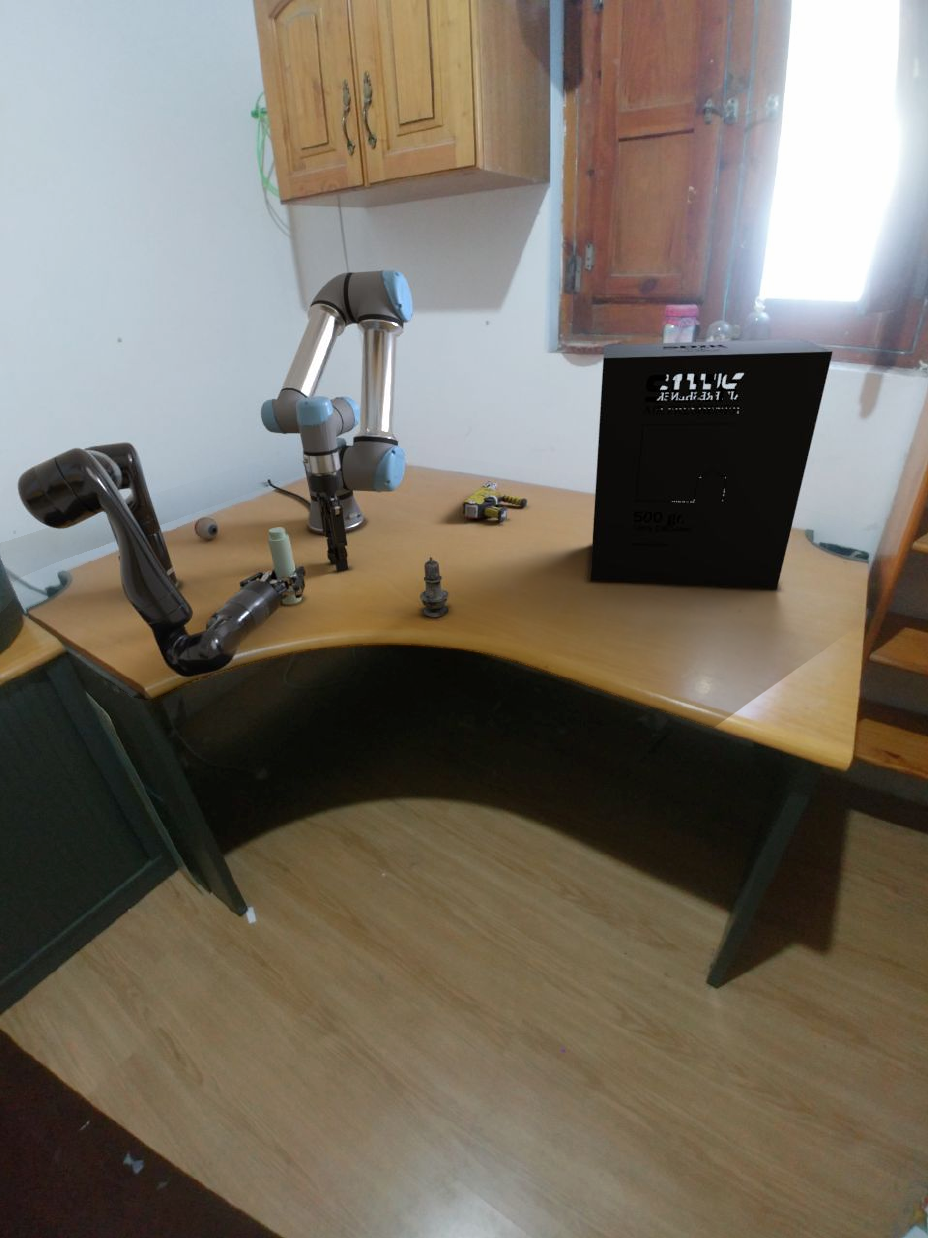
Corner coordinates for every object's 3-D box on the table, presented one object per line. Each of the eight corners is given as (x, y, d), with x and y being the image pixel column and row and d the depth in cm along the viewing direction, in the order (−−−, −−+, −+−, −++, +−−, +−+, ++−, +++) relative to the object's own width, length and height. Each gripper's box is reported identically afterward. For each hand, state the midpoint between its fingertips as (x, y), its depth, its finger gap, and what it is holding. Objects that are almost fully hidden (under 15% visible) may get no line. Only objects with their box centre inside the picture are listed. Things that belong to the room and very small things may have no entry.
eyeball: (208, 544, 161) (202, 523, 158) (193, 540, 164) (187, 519, 161) (226, 536, 166) (220, 516, 163) (211, 533, 169) (205, 512, 166)
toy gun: (534, 486, 180) (487, 479, 184) (513, 510, 160) (461, 501, 164) (533, 501, 182) (486, 494, 186) (512, 527, 162) (460, 518, 166)
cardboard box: (756, 549, 141) (800, 338, 118) (776, 589, 124) (832, 351, 101) (592, 544, 148) (604, 344, 126) (590, 580, 131) (603, 357, 109)
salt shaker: (446, 618, 120) (442, 563, 114) (417, 616, 122) (412, 562, 116) (452, 604, 125) (448, 551, 119) (425, 602, 126) (420, 550, 120)
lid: (346, 560, 142) (345, 553, 141) (326, 562, 142) (325, 555, 141) (348, 552, 146) (347, 546, 145) (329, 554, 146) (328, 547, 145)
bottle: (297, 605, 129) (282, 533, 121) (279, 604, 130) (262, 533, 121) (304, 595, 133) (289, 525, 124) (286, 595, 133) (270, 526, 125)
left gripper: (279, 592, 113) (319, 555, 127) (213, 587, 116) (259, 551, 130) (287, 627, 116) (325, 586, 131) (222, 621, 120) (266, 582, 134)
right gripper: (298, 465, 139) (314, 557, 151) (317, 483, 126) (334, 584, 137) (329, 460, 142) (343, 551, 154) (352, 477, 128) (366, 576, 140)
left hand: (292, 569), depth 130 cm, fingers closed on bottle, 4 cm apart
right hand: (339, 566), depth 145 cm, fingers closed on lid, 5 cm apart
